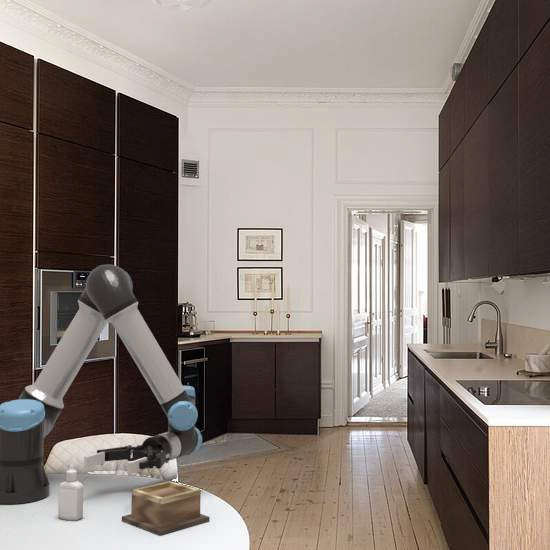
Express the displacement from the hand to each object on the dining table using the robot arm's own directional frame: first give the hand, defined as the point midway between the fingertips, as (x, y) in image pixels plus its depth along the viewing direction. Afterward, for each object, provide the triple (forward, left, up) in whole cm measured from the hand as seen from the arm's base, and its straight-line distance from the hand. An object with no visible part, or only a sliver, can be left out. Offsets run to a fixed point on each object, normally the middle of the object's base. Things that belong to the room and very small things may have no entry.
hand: (106, 465), depth 168 cm
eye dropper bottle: (+2, -11, -10) cm, 15 cm away
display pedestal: (+19, +3, -10) cm, 22 cm away
